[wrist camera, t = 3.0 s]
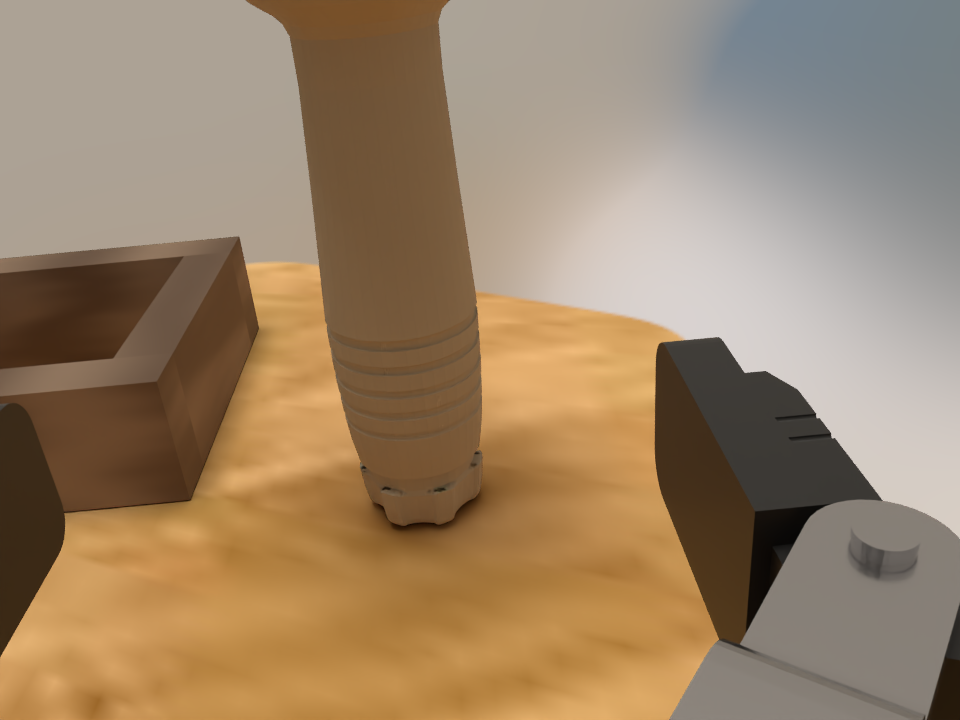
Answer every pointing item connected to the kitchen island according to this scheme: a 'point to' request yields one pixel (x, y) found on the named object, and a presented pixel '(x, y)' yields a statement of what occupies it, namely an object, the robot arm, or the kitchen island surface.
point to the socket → (126, 363)
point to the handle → (391, 247)
